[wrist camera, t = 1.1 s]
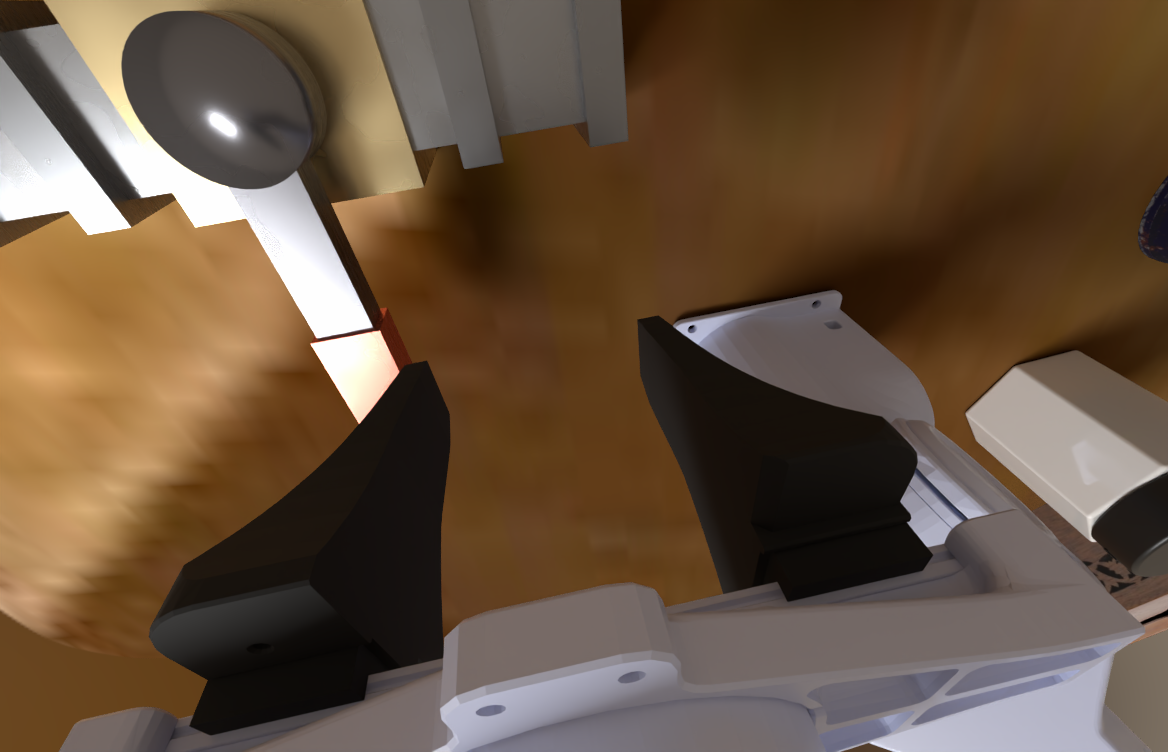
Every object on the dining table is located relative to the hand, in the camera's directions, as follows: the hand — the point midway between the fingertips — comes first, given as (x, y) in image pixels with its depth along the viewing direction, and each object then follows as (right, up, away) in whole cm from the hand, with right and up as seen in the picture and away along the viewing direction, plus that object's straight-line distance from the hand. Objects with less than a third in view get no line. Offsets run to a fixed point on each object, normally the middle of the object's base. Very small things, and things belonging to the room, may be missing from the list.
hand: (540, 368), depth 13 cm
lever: (-7, +3, +2) cm, 8 cm away
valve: (-8, +10, +3) cm, 14 cm away
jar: (+34, -2, +22) cm, 40 cm away
